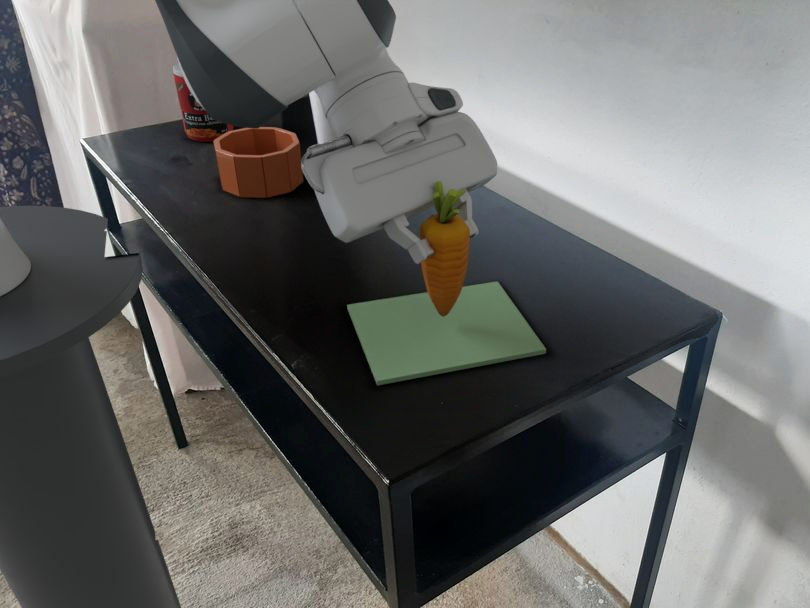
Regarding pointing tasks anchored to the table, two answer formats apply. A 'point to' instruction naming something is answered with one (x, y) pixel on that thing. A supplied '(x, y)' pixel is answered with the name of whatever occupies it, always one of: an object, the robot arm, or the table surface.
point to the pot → (259, 161)
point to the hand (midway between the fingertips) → (449, 248)
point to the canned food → (196, 114)
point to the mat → (441, 333)
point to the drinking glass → (320, 120)
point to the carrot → (445, 250)
